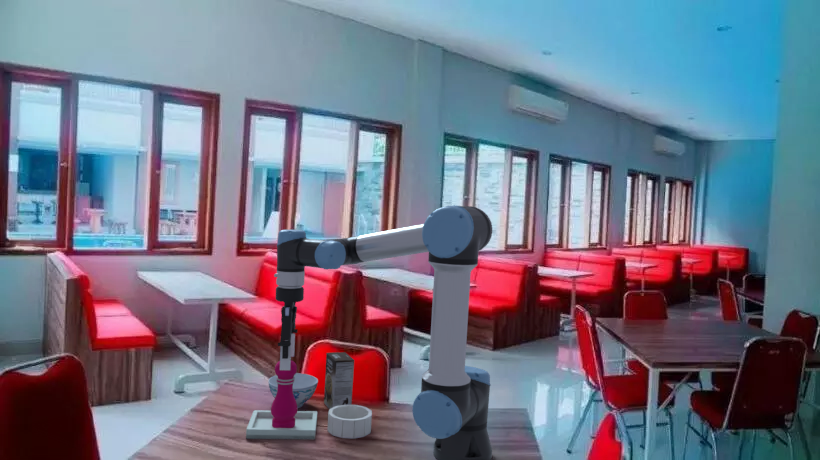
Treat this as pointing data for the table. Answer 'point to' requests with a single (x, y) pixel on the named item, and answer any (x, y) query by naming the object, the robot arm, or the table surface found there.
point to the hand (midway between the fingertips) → (287, 362)
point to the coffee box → (338, 379)
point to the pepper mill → (284, 398)
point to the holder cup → (349, 421)
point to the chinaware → (298, 387)
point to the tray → (263, 428)
